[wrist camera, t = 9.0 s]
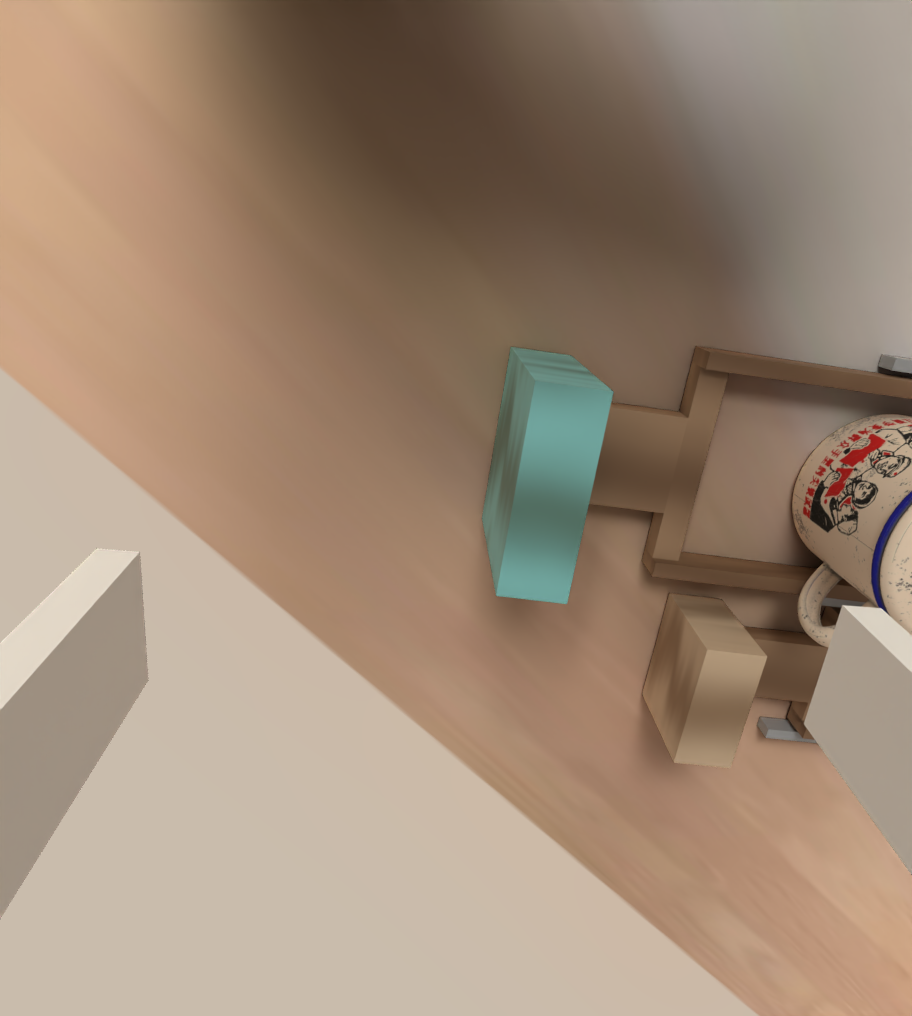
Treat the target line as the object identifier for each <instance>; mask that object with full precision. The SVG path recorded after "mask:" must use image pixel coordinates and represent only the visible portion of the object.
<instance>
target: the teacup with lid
mask: <svg viewBox="0 0 912 1016" xmlns="http://www.w3.org/2000/svg"><path fill="white" fill-rule="evenodd" d="M792 510H793V518H794V523H795V526H796V529H797V532H798V534H799V536H800V538H801V539H802V541H803V542H804V544H805V545H806V546H807V547H808V549H809V550H810V551H811V552H812V553H814V554H815V555H816V556H817V557H818V558H820V559H821V560H822V561H823V562H824V563H823V564H822V565H821V566H820V567H819V568H818V569H817V570H816V571H815V572H814V573H813V574H812V575H811V576H810V578H809V579H808V580H807V582H806V583H805V585H804V587H803V588H802V591H801V593H800V596H799V600H798V617H799V621H800V624H801V626H802V628H803V629H804V631H805V632H806V633H807V634H808V635H809V636H810V637H811V638H812V639H813V640H815V641H816V642H817V643H819V644H820V645H822V646H825V647H828V648H829V645H830V642H831V639H832V635H833V632H834V629H835V626H836V625H833V626H827V627H822V625H821V621H820V610H821V606H822V603H823V601H824V599H825V597H826V596H827V594H828V593H829V592H830V590H831V589H832V588H833V587H834V586H835V585H836V584H837V583H838V582H839V581H840V580H841V579H842V578H844V579H845V580H846V581H847V582H848V583H850V584H851V585H852V586H853V587H854V588H856V589H857V590H858V591H859V592H861V593H862V594H863V595H864V596H865V597H867V598H868V599H869V600H868V601H867V602H866V603H865V604H863V605H862V606H861V607H872V608H881V609H883V610H884V611H885V612H886V613H887V614H888V615H889V616H890V617H892V618H893V619H894V620H895V621H896V622H897V623H898V624H899V625H900V626H902V627H903V628H904V629H905V630H906V631H907V632H908V633H909V634H911V635H912V417H911V416H906V415H900V414H881V415H874V416H870V417H866V418H862V419H859V420H856V421H854V422H852V423H849V424H847V425H846V426H844V427H842V428H840V429H839V430H837V431H835V432H834V433H833V434H831V435H830V436H829V437H827V438H826V439H825V440H824V441H823V442H822V443H821V444H820V445H819V446H818V447H817V448H816V449H815V450H814V451H813V452H812V454H811V455H810V456H809V458H808V459H807V461H806V462H805V464H804V466H803V467H802V469H801V471H800V474H799V476H798V478H797V481H796V484H795V488H794V492H793V500H792Z"/></svg>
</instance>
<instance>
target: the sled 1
mask: <svg viewBox="0 0 912 1016" xmlns="http://www.w3.org/2000/svg"><path fill="white" fill-rule="evenodd" d="M729 373H735V374H742V375H749V376H756V377H763V378H770V379H777V380H784V381H790V382H797V383H804V384H811V385H818V386H825V387H832V388H839V389H846V390H853V391H859V392H866V393H873V394H880V395H887V396H894V397H901V398H908V399H912V378H909V377H902V376H895V375H889V374H882V373H875V372H868V371H861V370H855V369H848V368H841V367H834V366H827V365H821V364H814V363H807V362H800V361H793V360H787V359H780V358H773V357H766V356H760V355H753V354H746V353H739V352H732V351H726V350H719V349H712V348H705V347H698V346H696V348H695V352H694V356H693V360H692V364H691V368H690V371H689V375H688V379H687V383H686V387H685V391H684V395H683V399H682V403H681V407H680V411H679V412H678V411H670V410H663V409H656V408H649V407H642V406H635V405H628V404H620V403H613V402H611V401H612V396H613V391H612V390H611V389H610V388H609V387H607V386H606V385H605V384H604V383H603V382H602V381H600V380H599V379H598V378H597V377H596V376H595V375H593V374H592V373H591V372H590V371H589V370H588V369H586V368H585V367H584V366H583V365H582V364H581V363H579V362H578V361H577V360H576V359H575V358H574V357H572V356H571V355H565V354H558V353H551V352H544V351H537V350H530V349H523V348H516V347H511V348H510V354H509V360H508V366H507V372H506V378H505V384H504V390H503V396H502V402H501V408H500V414H499V420H498V426H497V432H496V438H495V443H494V449H493V455H492V461H491V467H490V473H489V479H488V485H487V491H486V497H485V503H484V509H483V515H482V521H483V527H484V532H485V538H486V543H487V549H488V554H489V560H490V565H491V571H492V576H493V582H494V587H495V593H496V596H502V597H510V598H519V599H527V600H536V601H544V602H553V603H562V604H567V602H568V597H569V593H570V588H571V583H572V579H573V574H574V570H575V565H576V561H577V556H578V552H579V547H580V542H581V538H582V533H583V529H584V524H585V520H586V515H587V510H588V506H589V504H595V505H602V506H610V507H618V508H626V509H634V510H641V511H649V512H654V514H653V518H652V522H651V526H650V530H649V534H648V538H647V542H646V546H645V550H644V554H643V558H642V562H643V563H644V565H645V566H646V568H647V570H648V571H649V573H650V574H651V576H652V577H659V578H667V579H675V580H684V581H692V582H700V583H708V584H717V585H725V586H733V587H741V588H750V589H758V590H766V591H774V592H783V593H791V594H799V595H800V593H801V591H802V588H803V587H804V585H805V583H806V582H807V580H808V579H809V578H810V576H811V575H812V574H813V573H814V572H815V571H816V570H817V569H815V568H807V567H799V566H791V565H783V564H775V563H767V562H759V561H751V560H743V559H735V558H727V557H719V556H711V555H703V554H695V553H687V552H681V550H682V546H683V542H684V539H685V535H686V531H687V528H688V524H689V520H690V516H691V513H692V509H693V505H694V502H695V498H696V494H697V491H698V487H699V483H700V479H701V476H702V472H703V468H704V465H705V461H706V457H707V453H708V450H709V446H710V442H711V439H712V435H713V431H714V428H715V424H716V420H717V416H718V413H719V409H720V405H721V402H722V398H723V394H724V391H725V387H726V383H727V379H728V376H729ZM825 598H832V599H840V600H849V601H857V602H865V603H866V602H867V601H868V600H869V599H868V598H867V597H865V596H864V595H863V594H862V593H861V592H859V591H858V590H857V589H856V588H854V587H853V586H852V585H851V584H850V583H848V582H847V581H846V580H845V579H844V578H842V579H841V580H840V581H839V582H838V583H837V584H836V585H835V586H834V587H833V588H832V589H831V590H830V592H829V593H828V594H827V596H826V597H825Z"/></svg>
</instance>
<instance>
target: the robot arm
mask: <svg viewBox="0 0 912 1016" xmlns="http://www.w3.org/2000/svg"><path fill="white" fill-rule="evenodd" d="M147 682H148V669H147V653H146V637H145V623H144V607H143V593H142V576H141V562H140V552H137V551H124V550H123V551H122V550H110V549H97V548H96V549H95V550H94V551H93V552H92V553H91V555H89V557H87V558H86V559H85V560H84V561H83V562H82V563H81V564H80V565H79V566H78V567H77V568H76V569H75V570H74V571H73V572H72V573H71V574H70V575H69V576H68V577H67V578H66V579H65V580H64V581H63V582H62V583H61V584H60V585H59V586H58V587H57V588H56V589H55V590H54V591H53V592H52V593H51V594H50V595H49V596H48V597H47V598H46V599H44V600H43V601H42V602H41V604H39V605H38V606H37V607H36V608H35V609H34V610H33V611H32V612H31V613H30V614H29V615H28V616H27V617H26V618H25V619H24V620H23V621H22V622H21V623H20V624H19V625H18V626H17V627H16V628H15V629H14V630H13V631H12V632H11V633H10V634H9V635H8V636H7V637H6V638H5V639H4V640H3V641H2V642H1V643H0V918H1V917H2V915H3V914H4V912H5V910H6V909H7V907H8V906H9V904H10V902H11V900H12V899H13V898H14V896H15V894H16V893H17V891H18V889H19V888H20V886H21V885H22V883H23V881H24V880H25V878H26V876H27V875H28V873H29V872H30V870H31V868H32V867H33V865H34V864H35V862H36V860H37V859H38V857H39V855H40V854H41V852H42V851H43V849H44V847H45V846H46V844H47V843H48V841H49V839H50V838H51V836H52V835H53V833H54V831H55V830H56V828H57V826H58V825H59V823H60V822H61V820H62V818H63V817H64V815H65V814H66V812H67V810H68V809H69V807H70V806H71V804H72V802H73V801H74V799H75V798H76V796H77V794H78V793H79V791H80V790H81V788H82V786H83V785H84V783H85V781H86V780H87V778H88V777H89V775H90V773H91V772H92V770H93V769H94V767H95V765H96V764H97V762H98V761H99V759H100V757H101V756H102V754H103V752H104V751H105V749H106V748H107V746H108V744H109V743H110V741H111V740H112V738H113V736H114V735H115V733H116V732H117V730H118V728H119V727H120V725H121V723H122V722H123V720H124V719H125V717H126V715H127V714H128V712H129V711H130V709H131V707H132V706H133V704H134V703H135V701H136V699H137V698H138V696H139V694H140V693H141V691H142V689H143V688H144V686H145V685H146V683H147ZM804 725H805V726H806V728H807V729H808V731H809V732H810V733H811V735H812V736H813V738H814V739H815V740H816V742H817V743H818V745H819V746H820V747H821V749H822V750H823V752H824V753H825V754H826V756H827V757H828V759H829V760H830V761H831V763H832V764H833V766H834V767H835V768H836V770H837V771H838V773H839V774H840V775H841V777H842V778H843V780H844V781H845V782H846V784H847V785H848V787H849V788H850V789H851V791H852V792H853V794H854V795H855V796H856V798H857V799H858V801H859V802H860V803H861V805H862V806H863V808H864V809H865V810H866V812H867V813H868V815H869V816H870V817H871V819H872V820H873V822H874V823H875V824H876V826H877V827H878V829H879V830H880V831H881V833H882V834H883V836H884V837H885V838H886V840H887V841H888V843H889V844H890V845H891V847H892V848H893V850H894V851H895V852H896V854H897V855H898V857H899V858H900V859H901V861H902V862H903V864H904V865H905V866H906V868H907V869H908V871H909V872H910V873H911V875H912V635H911V634H909V633H908V632H907V631H906V630H905V629H904V628H903V627H902V626H900V625H899V624H898V623H897V622H896V621H895V620H894V619H893V618H892V617H890V616H889V615H888V614H887V613H886V612H885V611H884V610H883V609H881V608H872V607H859V606H846V605H842V608H841V611H840V614H839V617H838V620H837V623H836V626H835V629H834V632H833V635H832V639H831V642H830V645H829V648H828V651H827V654H826V657H825V660H824V663H823V666H822V669H821V672H820V675H819V679H818V682H817V685H816V688H815V691H814V694H813V697H812V700H811V703H810V706H809V709H808V712H807V715H806V719H805V722H804Z"/></svg>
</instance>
